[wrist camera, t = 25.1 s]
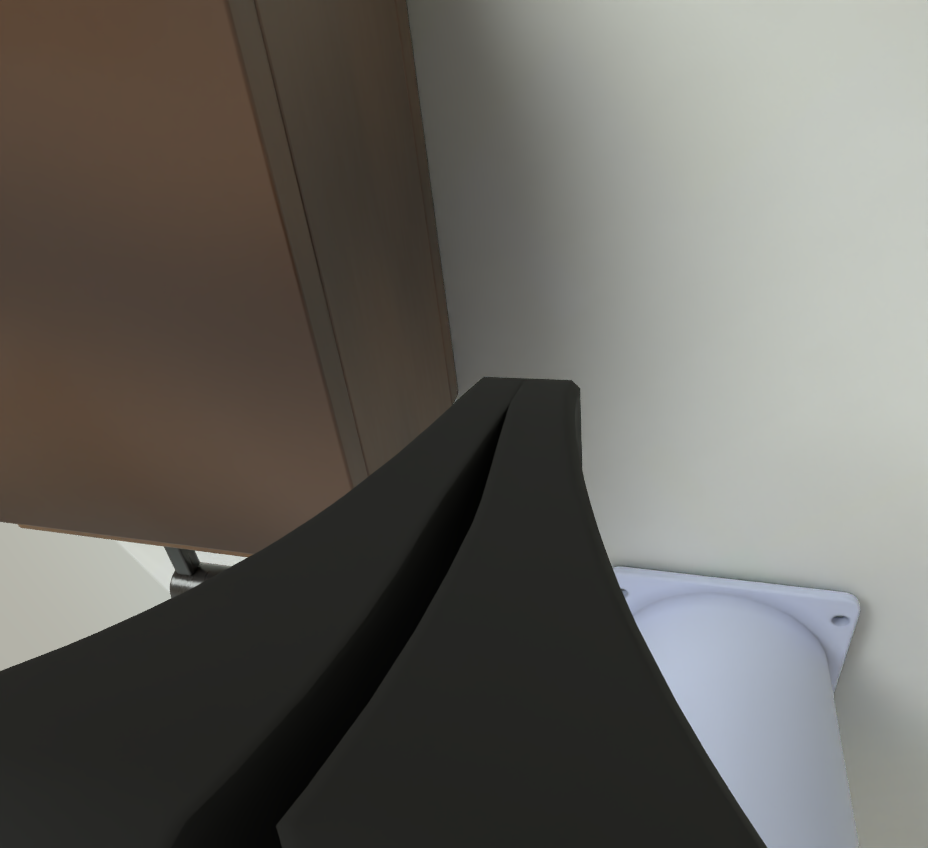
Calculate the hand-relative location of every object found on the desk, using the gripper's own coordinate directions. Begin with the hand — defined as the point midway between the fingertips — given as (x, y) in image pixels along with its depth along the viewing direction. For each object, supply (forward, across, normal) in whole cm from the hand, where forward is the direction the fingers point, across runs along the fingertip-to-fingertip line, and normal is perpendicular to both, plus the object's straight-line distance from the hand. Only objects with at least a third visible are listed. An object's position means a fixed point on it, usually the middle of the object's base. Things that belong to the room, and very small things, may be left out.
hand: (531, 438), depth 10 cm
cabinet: (+10, +11, -1) cm, 15 cm away
